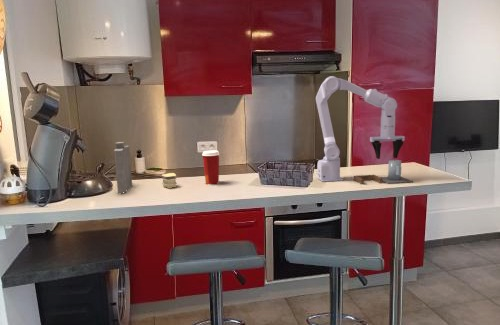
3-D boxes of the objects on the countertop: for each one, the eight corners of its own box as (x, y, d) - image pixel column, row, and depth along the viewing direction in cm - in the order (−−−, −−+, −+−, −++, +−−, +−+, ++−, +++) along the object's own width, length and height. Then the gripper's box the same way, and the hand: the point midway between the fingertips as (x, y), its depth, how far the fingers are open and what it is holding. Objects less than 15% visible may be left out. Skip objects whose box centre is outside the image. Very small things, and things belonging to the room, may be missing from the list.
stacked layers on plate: (184, 187, 172) (184, 175, 171) (164, 191, 167) (163, 178, 166) (175, 183, 180) (174, 171, 179) (155, 187, 175) (155, 174, 174)
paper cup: (224, 181, 180) (222, 150, 177) (215, 185, 173) (214, 153, 170) (208, 180, 183) (207, 150, 180) (199, 184, 176) (198, 152, 174)
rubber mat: (387, 184, 166) (387, 182, 166) (376, 178, 177) (376, 177, 177) (413, 182, 168) (413, 181, 168) (400, 177, 178) (400, 176, 178)
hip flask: (125, 193, 164) (121, 144, 160) (114, 194, 163) (110, 144, 160) (132, 184, 179) (129, 139, 176) (123, 185, 179) (119, 140, 176)
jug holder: (361, 184, 167) (361, 179, 167) (353, 180, 175) (354, 175, 174) (382, 183, 168) (382, 178, 168) (373, 179, 176) (374, 174, 176)
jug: (393, 182, 167) (394, 162, 166) (386, 178, 174) (386, 160, 173) (405, 181, 168) (405, 162, 167) (397, 177, 175) (397, 159, 174)
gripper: (375, 127, 166) (374, 160, 169) (408, 126, 168) (407, 158, 170) (368, 126, 173) (367, 157, 176) (400, 125, 175) (399, 156, 177)
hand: (386, 158), depth 173 cm, fingers open, 7 cm apart
